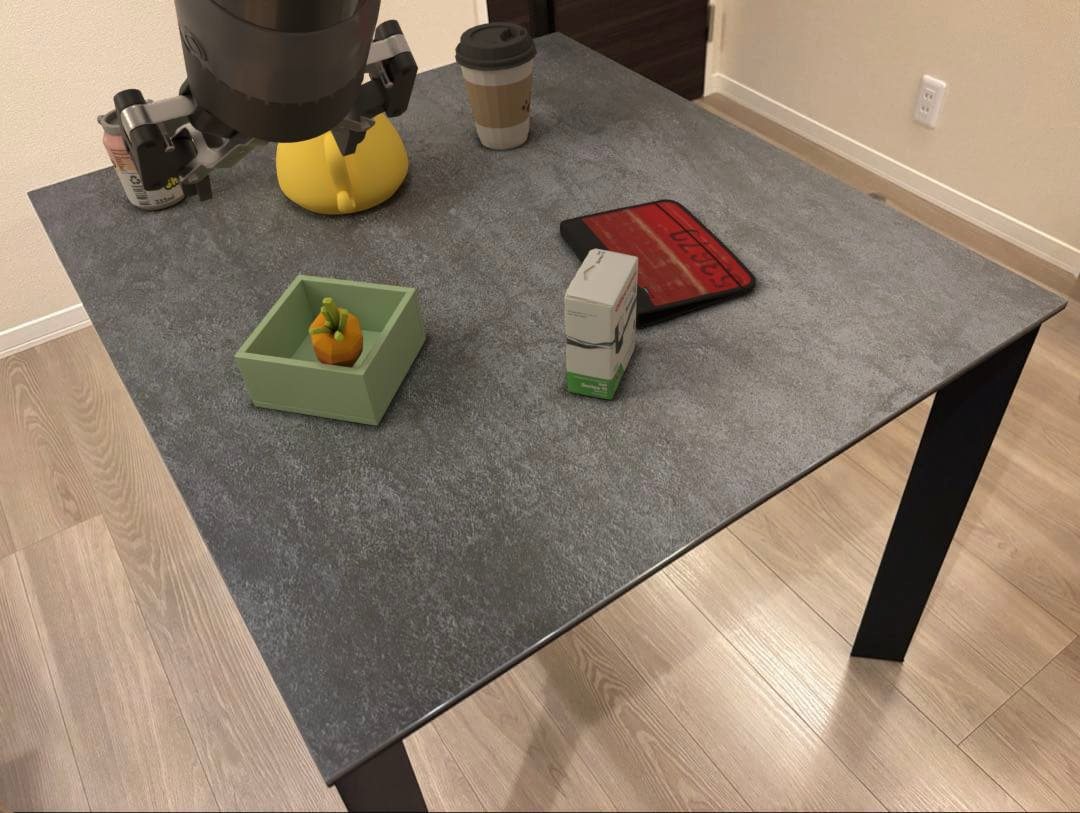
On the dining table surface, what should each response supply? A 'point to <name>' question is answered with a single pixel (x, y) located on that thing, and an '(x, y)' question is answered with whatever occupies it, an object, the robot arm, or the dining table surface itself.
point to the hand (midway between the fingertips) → (271, 161)
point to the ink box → (600, 322)
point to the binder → (663, 257)
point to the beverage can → (134, 170)
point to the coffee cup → (498, 81)
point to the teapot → (343, 170)
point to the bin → (322, 389)
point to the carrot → (336, 336)
